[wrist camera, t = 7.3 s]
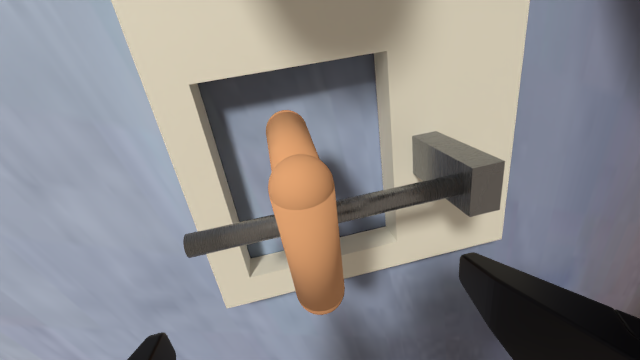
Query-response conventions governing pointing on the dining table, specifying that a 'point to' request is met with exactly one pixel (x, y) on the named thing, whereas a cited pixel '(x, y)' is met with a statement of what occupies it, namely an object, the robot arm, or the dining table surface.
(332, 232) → the cord bight
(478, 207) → the hook arm
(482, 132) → the white open frame tray
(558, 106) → the dining table surface
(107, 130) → the dining table surface
